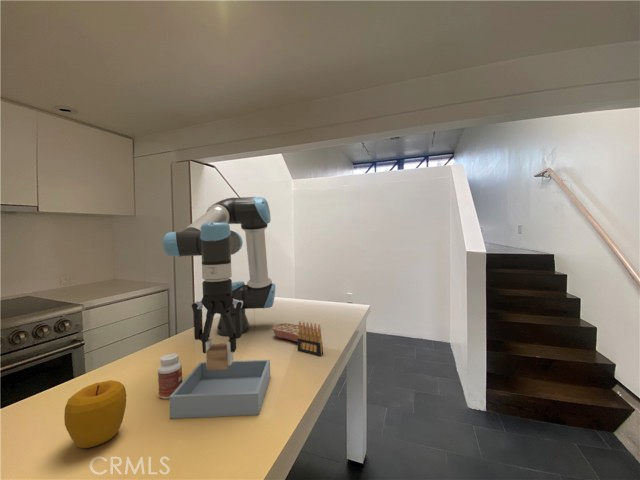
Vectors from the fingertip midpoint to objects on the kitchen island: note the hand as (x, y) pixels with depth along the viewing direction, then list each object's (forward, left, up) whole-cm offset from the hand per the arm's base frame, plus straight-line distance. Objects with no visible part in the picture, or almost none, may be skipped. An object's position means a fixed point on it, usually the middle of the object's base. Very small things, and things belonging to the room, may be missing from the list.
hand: (220, 363), depth 74 cm
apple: (+12, -24, -12) cm, 29 cm away
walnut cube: (0, 0, 0) cm, 0 cm away
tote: (-4, 0, -11) cm, 12 cm away
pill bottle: (-6, -17, -12) cm, 21 cm away
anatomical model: (-43, +17, -12) cm, 48 cm away
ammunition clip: (-30, +24, -12) cm, 40 cm away
